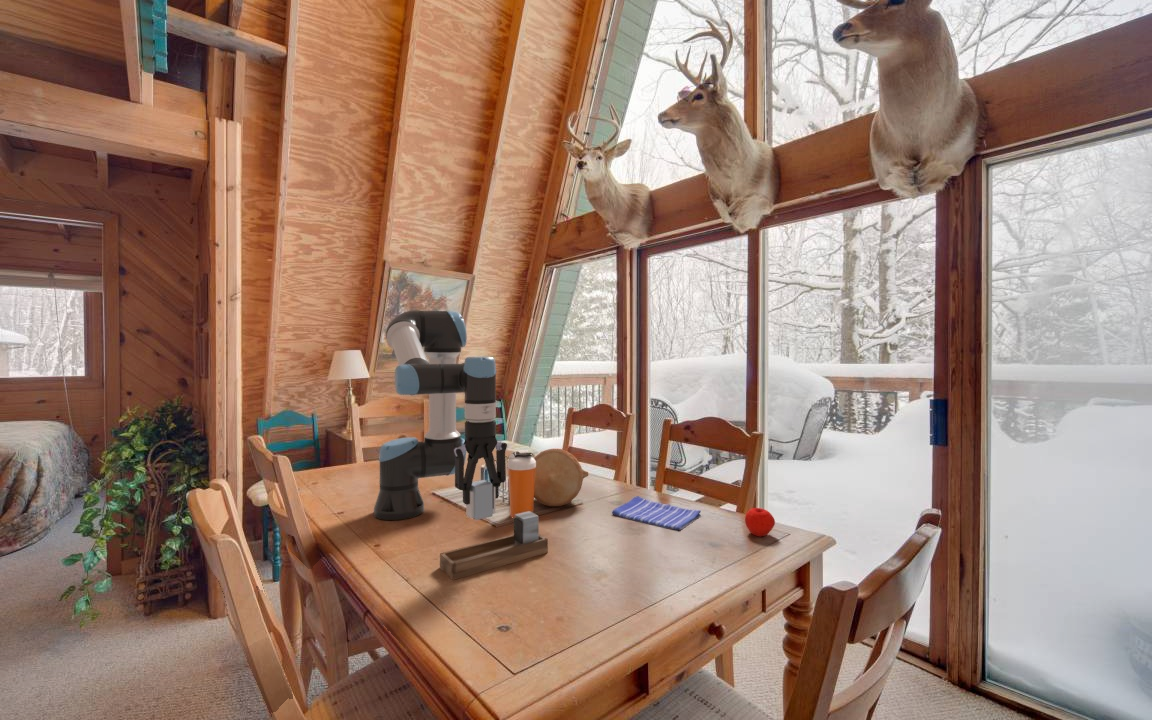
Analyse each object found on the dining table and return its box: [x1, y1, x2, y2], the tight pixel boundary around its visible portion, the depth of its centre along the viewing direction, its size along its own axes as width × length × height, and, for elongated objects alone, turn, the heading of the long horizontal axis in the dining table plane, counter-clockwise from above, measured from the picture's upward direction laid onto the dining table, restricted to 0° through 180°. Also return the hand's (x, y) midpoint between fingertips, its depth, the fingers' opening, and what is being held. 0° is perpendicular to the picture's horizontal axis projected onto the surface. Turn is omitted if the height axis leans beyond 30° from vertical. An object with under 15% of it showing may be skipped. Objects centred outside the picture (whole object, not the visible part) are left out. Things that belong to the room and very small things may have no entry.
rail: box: [439, 511, 549, 581], centre depth 127 cm, size 8×26×10 cm, turn 126°
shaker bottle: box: [506, 450, 536, 519], centre depth 159 cm, size 9×9×20 cm
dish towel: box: [611, 495, 702, 531], centre depth 161 cm, size 17×24×3 cm
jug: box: [533, 448, 589, 507], centre depth 178 cm, size 20×19×30 cm
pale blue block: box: [471, 479, 494, 521], centre depth 125 cm, size 4×5×8 cm
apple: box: [744, 507, 776, 537], centre depth 145 cm, size 8×8×7 cm
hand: (481, 514), depth 125 cm, fingers closed on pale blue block, 5 cm apart
